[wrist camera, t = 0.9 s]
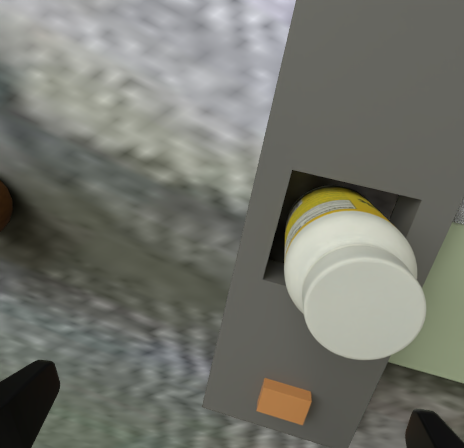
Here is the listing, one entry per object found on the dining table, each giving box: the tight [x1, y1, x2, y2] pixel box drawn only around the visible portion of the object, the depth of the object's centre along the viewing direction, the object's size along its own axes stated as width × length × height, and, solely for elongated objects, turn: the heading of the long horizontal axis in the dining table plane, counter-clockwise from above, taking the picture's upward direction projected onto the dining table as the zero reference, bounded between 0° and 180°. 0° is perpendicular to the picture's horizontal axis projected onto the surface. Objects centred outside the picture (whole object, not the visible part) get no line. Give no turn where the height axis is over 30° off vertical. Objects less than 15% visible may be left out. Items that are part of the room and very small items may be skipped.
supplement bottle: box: [284, 185, 426, 360], centre depth 16 cm, size 5×5×10 cm
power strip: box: [202, 0, 464, 448], centre depth 18 cm, size 28×10×4 cm, turn 168°
